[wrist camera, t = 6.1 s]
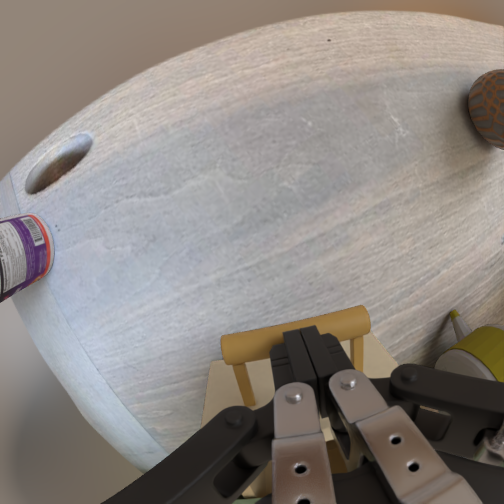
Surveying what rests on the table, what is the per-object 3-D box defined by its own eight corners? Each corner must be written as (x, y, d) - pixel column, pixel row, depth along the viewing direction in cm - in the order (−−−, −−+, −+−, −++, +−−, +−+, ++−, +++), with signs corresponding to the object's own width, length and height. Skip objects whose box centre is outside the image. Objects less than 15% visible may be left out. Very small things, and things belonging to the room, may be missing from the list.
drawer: (192, 303, 17) (161, 381, 10) (365, 267, 17) (434, 319, 9) (249, 460, 21) (252, 524, 14) (362, 435, 21) (386, 493, 14)
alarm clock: (458, 378, 22) (530, 459, 7) (410, 409, 22) (472, 508, 7) (462, 293, 19) (581, 375, 4) (404, 329, 19) (519, 453, 5)
